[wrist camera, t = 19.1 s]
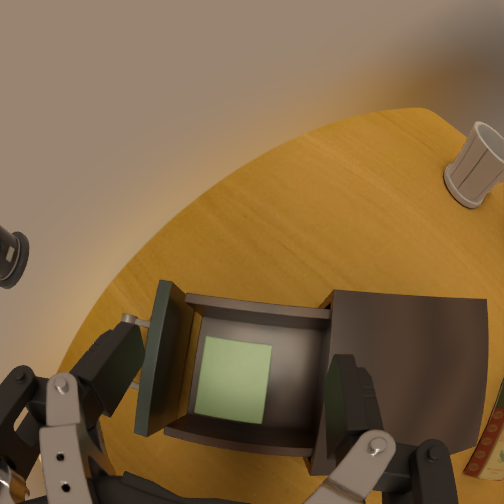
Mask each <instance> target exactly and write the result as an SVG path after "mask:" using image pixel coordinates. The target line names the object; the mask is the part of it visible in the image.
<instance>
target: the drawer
mask: <svg viewBox="0 0 504 504" xmlns="http://www.w3.org/2000/svg"><path fill="white" fill-rule="evenodd" d="M194 310H195V311H196V312H198V313H199V314H200V315H201V316H202V321H201V327H200V333H199V339H198V345H197V351H196V357H195V363H194V370H193V376H192V383H191V390H190V397H189V404H188V411H187V414H186V415H184V416H182V417H180V418H179V419H177V412H178V405H179V398H180V390H181V384H182V377H183V371H184V364H185V358H186V352H187V346H188V340H189V334H190V329H191V323H192V317H193V312H194ZM121 321H124V322H128V323H132V324H137V325H138V326H142V327H146V328H149V331H148V336H147V342H146V347H145V359H144V362H143V365H142V371H141V378H140V383H137V382H134V381H132V383H131V384H130V386H129V387H130V388H133V389H137V390H139V392H138V400H137V408H136V418H135V428H134V433H136V434H139V435H142V436H145V437H148V436H150V435H152V434H154V433H156V432H158V431H159V430H161V429H163V428H164V435H168V436H171V437H175V438H179V439H182V440H186V441H190V442H195V443H199V444H203V445H208V446H213V447H218V448H224V449H230V450H236V451H242V452H250V453H258V454H268V455H280V456H297V457H312V452H313V447H314V442H315V436H316V431H317V425H318V419H319V412H320V406H321V399H322V391H323V384H324V375H325V367H326V357H327V347H328V336H329V323H330V309H320V308H308V307H298V306H288V305H278V304H269V303H260V302H251V301H243V300H235V299H228V298H220V297H213V296H206V295H199V294H192V293H186V294H185V293H184V292H183V291H182V290H180V289H179V288H178V287H177V286H176V285H175V284H174V283H173V282H172V281H166V280H159V284H158V289H157V293H156V297H155V302H154V307H153V311H152V316H151V321H145V320H141V319H138V317H136V316H133V315H130V314H126V313H123V314H122V318H121ZM206 336H210V337H217V338H223V339H230V340H236V341H244V342H251V343H259V344H268V345H273V349H272V357H271V364H270V372H269V379H268V386H267V393H266V400H265V407H264V413H263V420H262V424H257V423H249V422H242V421H235V420H229V419H223V418H218V417H213V416H208V415H203V414H198V413H195V412H194V410H195V403H196V396H197V390H198V383H199V376H200V370H201V363H202V357H203V351H204V344H205V338H206Z"/></svg>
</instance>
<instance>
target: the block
mask: <svg viewBox="0 0 504 504" xmlns="http://www.w3.org/2000/svg"><path fill="white" fill-rule="evenodd" d="M272 349H273V345H268V344H259V343H251V342H244V341H236V340H230V339H223V338H217V337H210V336H206V338H205V344H204V351H203V357H202V363H201V370H200V376H199V383H198V390H197V396H196V403H195V410H194V412H195V413H198V414H203V415H208V416H213V417H218V418H223V419H229V420H235V421H242V422H249V423H257V424H262V420H263V413H264V407H265V400H266V393H267V386H268V379H269V372H270V364H271V357H272Z"/></svg>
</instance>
